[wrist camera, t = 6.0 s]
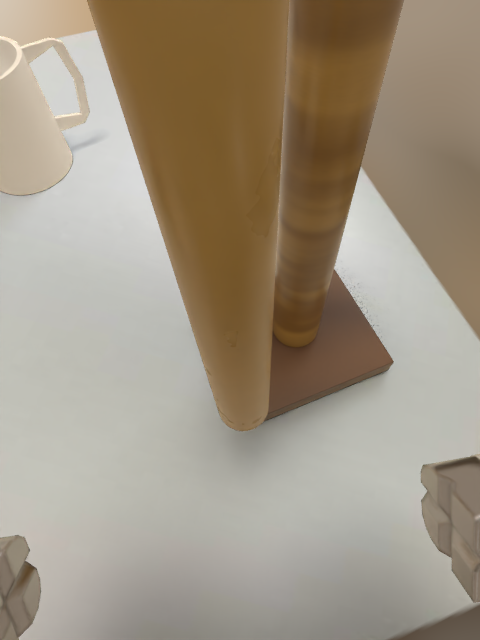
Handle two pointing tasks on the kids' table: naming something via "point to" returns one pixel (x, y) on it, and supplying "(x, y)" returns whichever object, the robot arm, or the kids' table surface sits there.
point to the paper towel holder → (324, 196)
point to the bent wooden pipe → (210, 167)
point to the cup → (33, 120)
